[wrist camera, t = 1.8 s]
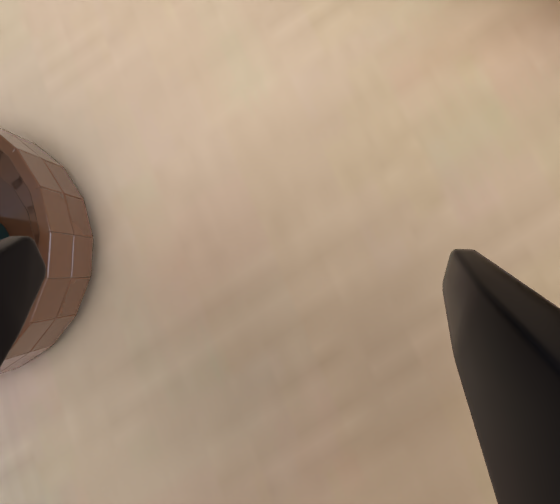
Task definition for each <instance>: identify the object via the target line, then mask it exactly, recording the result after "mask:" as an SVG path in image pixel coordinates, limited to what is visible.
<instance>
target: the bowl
mask: <svg viewBox="0 0 560 504" xmlns="http://www.w3.org/2000/svg"><path fill="white" fill-rule="evenodd" d="M0 223H1V224H2V225H3V226H4V227H5V229H6V230H7V232H8V234H9V236H29V237H31V238H32V239H33V240H34V241H35V242H36V245H37V247H38V249H39V251H40V254H41V256H42V258H43V261H44V263H45V265H46V276H45V278H44V281H43V283H42V285H41V287H40V290H39V292H38V294H37V296H36V299H35V301H34V303H33V305H32V308H31V310H30V312H29V314H28V317H27V319H26V321H25V323H24V325H23V328H22V330H21V332H20V334H19V336H18V337H17V339H16V341H15V343H14V345H13V346H12V348H11V350H10V352H9V353H8V355H7V357H6V358H5V360H4V362H3V364H2V365H1V367H0V374H1V373H4V372H7V371H10V370H13V369H16V368H19V367H21V366H23V365H24V364H26V363H27V362H29V361H30V360H32V359H33V358H35V357H36V356H38V355H39V354H41V353H42V352H44V351H45V350H47V349H48V348H49V347H51V346H52V345H53V344H54V343H55V342H56V340H57V339H58V338H59V336H60V335H61V334H62V333H63V331H64V330H65V329H66V328H67V326H68V325H69V324H70V322H71V321H72V320H73V319H74V317H75V316H76V313H77V312H78V309H79V306H80V304H81V301H82V299H83V296H84V293H85V291H86V288H87V285H88V283H89V280H90V277H91V267H92V251H93V238H92V237H93V235H92V231H91V227H90V223H89V219H88V215H87V211H86V207H85V203H84V200H83V198H82V196H81V194H80V193H79V191H78V190H77V188H76V186H75V185H74V183H73V182H72V180H71V178H70V177H69V175H68V174H67V172H66V170H65V169H64V167H63V166H62V165H60V164H59V163H58V162H57V161H56V160H54V159H53V158H52V157H51V156H49V155H48V154H47V153H46V152H45V151H43V150H42V149H41V148H40V147H38V146H37V145H36V144H34V143H32V142H30V141H27V140H25V139H23V138H21V137H19V136H16V135H14V134H12V133H10V132H7V131H5V130H3V129H1V128H0Z"/></svg>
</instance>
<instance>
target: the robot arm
mask: <svg viewBox="0 0 560 504" xmlns="http://www.w3.org/2000/svg"><path fill="white" fill-rule="evenodd" d="M45 276H46V265H45V263H44V261H43V258H42V256H41V254H40V251H39V249H38V247H37V245H36V242H35V241H34V240H33V239H32V238H31V237H29V236H9V237H6V238H4V239H1V240H0V367H1V365H2V364H3V362H4V360H5V358H6V357H7V355H8V353H9V352H10V350H11V348H12V346H13V345H14V343H15V341H16V339H17V337H18V336H19V334H20V332H21V330H22V328H23V325H24V323H25V321H26V319H27V317H28V314H29V312H30V310H31V308H32V305H33V303H34V301H35V299H36V296H37V294H38V292H39V290H40V287H41V285H42V283H43V281H44V278H45ZM443 296H444V302H445V308H446V314H447V320H448V326H449V332H450V338H451V344H452V349H453V354H454V358H455V362H456V366H457V369H458V372H459V376H460V379H461V382H462V386H463V389H464V392H465V396H466V399H467V402H468V406H469V409H470V412H471V416H472V419H473V422H474V426H475V429H476V432H477V436H478V439H479V442H480V446H481V449H482V452H483V456H484V459H485V462H486V466H487V469H488V472H489V476H490V479H491V482H492V486H493V489H494V492H495V496H496V499H497V502H498V504H560V308H558V307H557V306H556V305H554V304H553V303H551V302H550V301H548V300H547V299H545V298H544V297H542V296H541V295H540V294H538V293H537V292H535V291H534V290H532V289H531V288H529V287H528V286H526V285H525V284H523V283H522V282H521V281H519V280H518V279H516V278H515V277H513V276H512V275H510V274H509V273H507V272H506V271H505V270H503V269H502V268H500V267H499V266H497V265H496V264H494V263H493V262H491V261H490V260H489V259H487V258H486V257H484V256H483V255H481V254H480V253H478V252H477V251H475V250H471V249H455V250H453V251H452V252H451V254H450V257H449V261H448V264H447V268H446V272H445V276H444V279H443Z"/></svg>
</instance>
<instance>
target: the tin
mask: <svg viewBox="0 0 560 504" xmlns="http://www.w3.org/2000/svg"><path fill="white" fill-rule="evenodd" d="M6 237H9V234H8V232H7V230H6V229H5V227H4V226H3V225H2V224H1V223H0V240H1V239H4V238H6Z"/></svg>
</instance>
